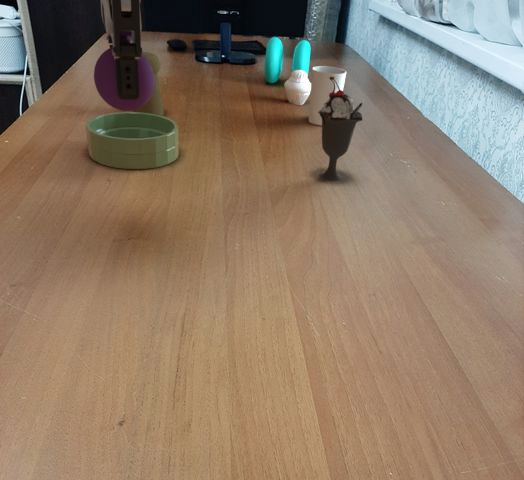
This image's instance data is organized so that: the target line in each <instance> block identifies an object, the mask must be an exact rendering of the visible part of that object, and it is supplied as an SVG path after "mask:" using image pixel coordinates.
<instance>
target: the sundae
mask: <svg viewBox="0 0 524 480" xmlns="http://www.w3.org/2000/svg"><path fill="white" fill-rule="evenodd" d="M332 79H333V80H334V77H330V80H331V81H332V82H333V80H332ZM334 81H335V80H334ZM335 82H336V81H335ZM333 83H334V82H333ZM336 85H337V87H338V89H339V86H338V84H337V82H336ZM334 91H335V83H334V90H333V92H332V93H330V94H329V98H330V99H329V100H328V101H327V102H326V103H324V106H323V107H322V110H320V111H319V112H318V113H319V114H320V116H321V117H322V126H321V146H322V150H323V152H324V153H325V154H326V155H327V156H328V158H329V160H328V166H327V169H326V170H325V171H324V172H321V173H319V174H318V176H319V178H321V179H322V180H324V181H328V182H339V181H342V180H343V177H342V176H341V174H339V173H338V172H337V163H338V159H339V158H340V157H343V156H344V155H345V154H346V153H347V152H348V150H349V147H350V145H351V142H352V138H353V135H354V131H355V128H356V126H357V123H358V122H362V121H363V115H362V113H361V112H359V110H360V109H361V108H362V106H363V102H360V103H359V104H358V105H357V107H355V105H354V100H353V99H352V97H350V95H348V94H346V93H345V92H344V90H343V91H342V90H340V89H339V91H337V92H336V93H335V92H334ZM354 107H355V108H354Z"/></svg>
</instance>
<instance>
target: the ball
mask: <svg viewBox="0 0 524 480" xmlns="http://www.w3.org/2000/svg"><path fill="white" fill-rule="evenodd" d="M112 50H113V47H111V48H110V47H109V48H107V49H106V50H105V51H103V52H102V53H101V54H100V56H99V57H98V58H97V60H96V62H95V65H94V70H93V80H94V86H95V88H96V91H97V92H98V93H97V94H98V95H99V96H100V97H101V99H102V100H103V101H104V103H106V104H107V105H109V106H110V107H111V108H114V109H116V110H118V111H121V112H133V111H134V110H136V109H139V108H141V107H142V106H144V105H145V104H146V103H147V102H148V101H149V99H150V98H151V96H152V93H153V90H154V85H155V79H154V73H153V70H152V67H151V65H150V63H149V61H148V60H147V59H146V58H145V56H144V55H143V54H142V53H141V57H139V60H137V61H138V77H139V98H138V99H136V100H123V99H120V98H119V97H118V94H117V82H116V68H115V60H114V56H113V55H112Z"/></svg>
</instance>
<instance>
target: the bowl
mask: <svg viewBox="0 0 524 480" xmlns="http://www.w3.org/2000/svg"><path fill="white" fill-rule="evenodd" d="M85 131H86V141H87V149H88V150H87V151H88V156H89V157H90V159H92V161H94V162H96V163H98V164H100V165H103V166H106V167H110V168H116V169H124V170H147V169H153V168H154V169H155V168H160V167H164V166H167V165H169V164H171V163H173V162H175V161H176V160H177V159H178V157H179V156H180V154H179V153H180V152H179V150H180V149H179V126H178V123H177V122H175V121H174V120H173V119H171V118H169V117H167V116H164V115H163V116H160V115H155V114H149V113H141V112H133V111H119V112H111V113H105V114H100V115H97V116H94V117H91V118H90V119H88V121H86V124H85Z"/></svg>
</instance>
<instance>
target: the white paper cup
mask: <svg viewBox="0 0 524 480" xmlns="http://www.w3.org/2000/svg"><path fill="white" fill-rule="evenodd" d="M346 75H347V70H345V69H343V68H340V67H336V66H328V65H318V66H313V67H312V69H311V81H310V83H311V92H310V95H309V107H308V109H309V110H308V122H309V123H310V124H312V125H316V126H321V127H322V117H321V116H320V114H319V113H318V112H319V111H320V110H322V107H323V106H324V103H326V102H327V101H328V100H329V99H330V98H329V94H330V93H332V92H333V90H334V83H335V91H334V92H335V93H336V92H337V91H339V89H340V90H342V91H343V92H344V86H345V81H346ZM330 77H334V80H335V81H336V82H337V84H338V86H339V89H338V87H337V85H336V82H335V81H334V80H333V79H332V80H333V82H334V83H333V82H332V81H331V80H330Z"/></svg>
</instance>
